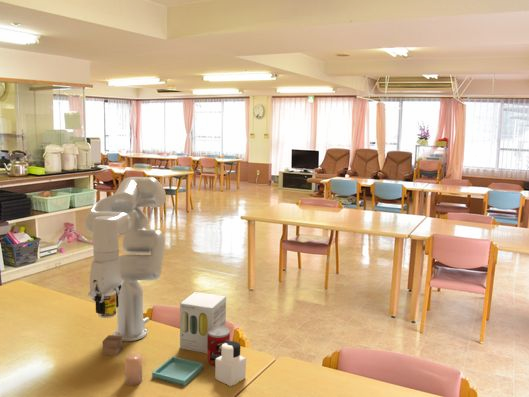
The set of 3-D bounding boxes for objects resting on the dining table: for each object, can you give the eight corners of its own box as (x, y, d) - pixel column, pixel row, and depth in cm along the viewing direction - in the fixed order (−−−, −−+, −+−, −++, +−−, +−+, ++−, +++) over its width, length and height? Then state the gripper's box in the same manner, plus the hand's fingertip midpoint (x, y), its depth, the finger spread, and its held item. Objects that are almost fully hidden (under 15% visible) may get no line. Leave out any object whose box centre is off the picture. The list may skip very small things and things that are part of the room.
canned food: (209, 367, 159) (209, 336, 157) (205, 356, 167) (205, 326, 165) (231, 365, 161) (232, 334, 160) (226, 354, 169) (227, 325, 167)
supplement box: (178, 348, 172) (178, 302, 169) (194, 334, 184) (194, 291, 182) (212, 354, 168) (213, 308, 165) (226, 339, 180) (226, 295, 178)
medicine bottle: (229, 370, 157) (230, 336, 156) (245, 378, 153) (246, 343, 151) (214, 379, 152) (215, 344, 150) (230, 387, 147) (231, 351, 146)
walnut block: (109, 348, 171) (108, 335, 170) (122, 349, 170) (122, 336, 170) (102, 354, 166) (102, 341, 165) (116, 355, 165) (116, 342, 165)
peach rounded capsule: (132, 375, 152) (132, 352, 151) (145, 379, 151) (145, 355, 149) (122, 383, 148) (122, 359, 147) (135, 386, 146) (135, 362, 145)
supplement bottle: (100, 320, 148) (99, 289, 146) (96, 314, 153) (95, 283, 151) (118, 316, 151) (118, 286, 149) (113, 310, 156) (113, 281, 154)
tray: (172, 361, 163) (172, 356, 162) (203, 368, 158) (203, 363, 158) (152, 377, 151) (152, 372, 151) (184, 386, 147) (184, 380, 147)
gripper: (114, 247, 158) (115, 299, 161) (76, 260, 142) (78, 317, 145) (133, 250, 155) (133, 303, 158) (96, 264, 139) (97, 321, 142)
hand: (107, 309), depth 151 cm, fingers closed on supplement bottle, 5 cm apart
